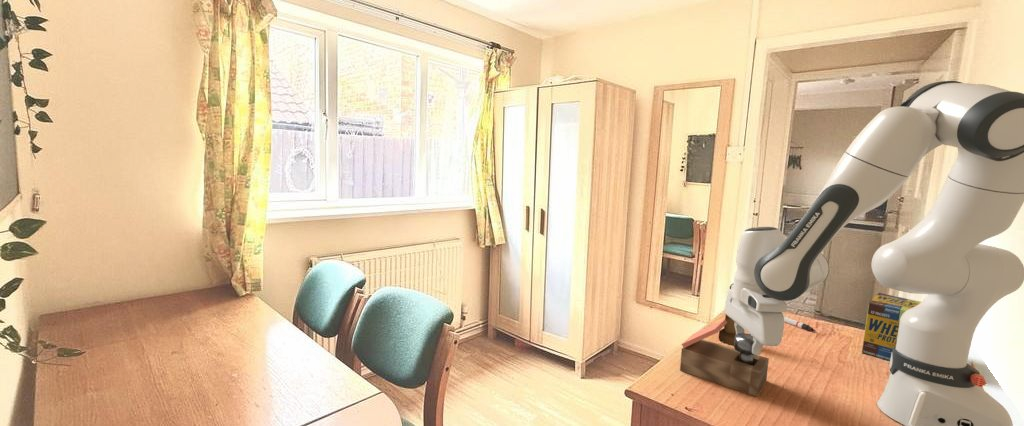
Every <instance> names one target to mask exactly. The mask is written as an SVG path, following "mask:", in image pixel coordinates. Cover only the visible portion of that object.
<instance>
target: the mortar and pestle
mask: <svg viewBox="0 0 1024 426" xmlns="http://www.w3.org/2000/svg"><path fill="white" fill-rule="evenodd" d="M731 285H733V283H732V284H730V286H729V290H730V289H731ZM724 318H725V319H724V320H726V321H727V324H726V325H725V326H724V327H723V328H722V329H721V330H720V331H719V332H718V340H719V341H720V342H722V343H724V344H727V345H732V346H734V341H735V335H736V330H735V325H734V323H735V321H734V320H732V319H731V318H730V317H729V316H727V315H726V314H725V317H724Z"/></svg>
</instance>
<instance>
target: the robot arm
mask: <svg viewBox="0 0 1024 426" xmlns="http://www.w3.org/2000/svg"><path fill="white" fill-rule="evenodd" d="M942 145H944V146H949V147H953V148H957V158H956V159H955V160H954V163H953V165H952V167H950V168H951V169H950V170H949V173H948V175H947V177H946V179H945V181H944V183H943V185H942V188H941V190H940V191H939V194H938V196H937V198H936V199H935V201H934V203H933V205H932V207H931V208H930V209H929V211H928V212H927V214H925V216H924V217H923V218H922V219H921V220H920V221H919V222H918V223H917V224H916V225H914V226H913V227H912V228H911V229H910V230H909V231H907V232H906V233H905V234H903V235H901V236H900V237H898V238H897V239H895V240H893V241H890V242H888V243H885V244H883V245H881V246H880V247H878V248H877V249H876V250H875V252H874V253H873V256H872V258H871V266H870V267H871V271H872V274H873V276H874V278H875V279H876V280H877V282H878V283H879V284H880V285H882V286H883V287H886V288H888V289H891V290H895V291H900V292H903V293H908V294H917V295H918V294H919V295H920V294H921V295H926V297H925V298H924V299H923V300H922V301H920V302H921V303H920V304H918V305H917V306H915V307H913V308H911V309H908V310H907V311H905V312H904V313H903V314H902V316H901V318H900V323H899V329H898V336H897V343H896V346H894V347H893V351H892V353H891V359H890V361H889V372H890V374H889V377H888V379H887V382H886V385H885V388H884V390H883V392H882V394H881V396H880V397H879V399H878V401H876V402H877V404H876V405H877V407H878V408H879V410H880V411H882V413H883V414H884V415H886V416H888V418H891V419H893V420H894V421H896V422H898V423H900V424H901V425H903V426H1014V425H1013V424H1014V423H1013V420H1012V417H1011V415H1010V414H1009V411H1008V410H1007V409H1006V408H1005V407H1004V406H1003V405H1002V404H1001V403H1000V402H999V401H998V400H997V399H995V398H994V397H993V396H992V395H990V394H989V393H988V392H986V391H985V390H984V389H983V388H982V387H985V386H986V384H987V382H986V379H985V376H983V375H981V373H980V371H979V370H977V369H976V367H975V365H973V364H969V363H968V359H969V354H970V349H971V345H972V341H973V338H974V335H975V334H974V333H975V332H976V329H977V327H978V325H979V323H980V321H982V319H983V318H984V316H985V315H986V314H987V312H988V311H989V310H990V309H991V308H992V307H993V306H994V305H995V304H996V303H997V302H998V301H1000V300H1002V299H1003V298H1004V297H1006V296H1008V295H1010V294H1012V293H1014V292H1016V291H1018V290H1019V289H1020V288H1021V287H1022V285H1023V283H1024V264H1023V262H1022V260H1021V259H1020V258H1019V257H1018V256H1017V255H1016V254H1015V253H1014V252H1012V251H1010V250H1007V249H1003V248H999V247H996V246H992V245H987V244H981V243H982V242H985V241H986V240H988V239H990V238H992V237H996V236H999V235H1000V234H1002V233H1004V232H1005V231H1007V230H1008V229H1009V228H1010V227H1011V226H1012V224H1013V222H1014V221H1015V219H1016V217H1017V215H1018V213H1019V212H1020V210H1021V208H1022V206H1023V205H1024V93H1023V92H1018V91H1011V90H1009V89H1005V88H1001V87H997V86H996V85H995V86H994V85H989V84H985V83H981V84H980V83H967V82H966V83H965V82H961V81H958V80H942V81H941V80H940V81H936V82H931V83H929V84H927V85H924V86H922V87H920V88H919V89H917V90H916V91H914V92H913V93H912V94H911V95H910V96H909V97H908V98H907V99H906V100H905V101H903V102H901V103H900V105H899V106H892V107H888V108H885V109H882V110H881V111H880V112H879V113H877V114H876V115H875V116H874V117H873V118H872V119H871V120H870V121H868V123H867V125H865V126H864V127H863V128H862V130H861V131H860V132H859V133H858V134H857V135H856V137H855V138H854V140H853V141H852V142H851V143H850V144H849V146H848V147H847V148H846V149H845V152H844V153H843V154H842V156H841V158H840V159H839V160H838V162H837V164H836V165H835V167H834V168H833V170H832V172H831V174H830V175H829V177H828V178H827V180H826V182H825V184H824V186H823V187H822V188H821V191H819V194H818V195H817V197H816V198H815V200H814V202H813V203H812V205H810V207H809V209H807V211H806V212H805V214H804V215H803V216H802V217H801V219H800V220H799V221H798V223H797V224H796V225H795V227H794V228H793V229H792V230H791V232H790V233H789V234H788V236H787V235H786V234H784V233H783V232H782V231H781V230H780V229H779V228H777V227H773V226H758V227H757V226H756V227H749V228H747V229H745V230H744V231H742V233H741V235H740V237H739V242H738V246H737V251H736V259H735V260H736V261H735V262H736V272H735V274H734V277H733V278H734V279H733V283H732V284H733V285H731V284H730V286H731V289H730V288H729V289H728V291H727V295H726V297H725V304H724V312H725V316H726V315H727V316H729V317H730V318H731V319H732V320H734V321H735V323H734V325H735V330H736V334H738V333H745V331H746V333H747V334H750V335H752V336H753V341H754V343H753V345H750V352H751V353H753V354H754V355H759V356H761V352H762V348H763V347H764V346H766V347H778V346H779V345H780V344H781V343H782V340H783V335H784V329H785V322H784V314H783V313H787V311H788V310H787V309H788V304H787V301H792V300H795V299H797V298H799V297H800V296H802V295H803V294H804V293H807V292H809V291H811V290H813V289H814V288H816V287H818V286H819V285H821V284H823V283H824V282H825V281H826V279H827V278H828V277H829V274H830V266H829V262H828V259H827V258H826V257H825V256H824V254H823V253H822V252H824V250H825V249H826V248H827V247H828V245H829V244H830V242H831V241H832V240H833V239H834V237H836V235H837V234H838V233H839V232H840V231H841V230H842V229H843V228H844V227H845V226H846V225H848V224H849V223H850V222H852V221H854V220H855V219H857V218H858V217H861V216H863V215H864V214H866V213H868V212H871V211H872V210H874V209H876V208H878V207H880V206H881V205H883V204H884V203H886V201H887V200H889V199H890V198H891V197H893V195H894V194H895V193H896V192H897V191H898V190H899V189H900V188H901V187H902V186H903V185H904V184H905V183H906V181H907V180H908V179H909V178H910V177H911V175H912V173H914V171H915V170H916V169H917V167H918V166H919V164H920V163H921V161H922V159H923V158H924V157H925V156H926V155H928V154H929V153H930V152H931V151H933V150H934V149H936V148H938V147H940V146H942Z"/></svg>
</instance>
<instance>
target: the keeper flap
mask: <svg viewBox="0 0 1024 426" xmlns="http://www.w3.org/2000/svg"><path fill="white" fill-rule="evenodd" d="M726 324H727V321H726V320H725V319H723V320H720V321H718V322H716V323H714V324H712V325H710V326H707V327H705V328H703V329H702V330H699V331H697V332H695V333H693V334H691V335H690V336H689V337H688V338H686V340H684V342H682V343H681V346H682V348H683V347H687V346H689V345H691V344H693V343H695V342H698V341H700V340H702V339H703V340H705V339H706V338H708V337H711V336H714V335H715V334H717V333H718V334H719V331H720V330H722V329H724V326H725V325H726Z"/></svg>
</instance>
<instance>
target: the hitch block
mask: <svg viewBox="0 0 1024 426" xmlns="http://www.w3.org/2000/svg"><path fill="white" fill-rule="evenodd" d="M680 354H681V355H680V364H679V366H680V367H679V371H680V372H684V373H686V374H688V375H689V374H690V375H692V376H696V377H698V378H700V379H704V380H706V381H710V382H712V383H715V384H718V385H722V386H724V387H728V388H730V389H733V390H736V391H738V392H743V393H745V394H748V395H751V396H754V397H758V396H759V395H760V392H761V391H762V390H763V388H764V386H765V385H766V382H767V377H768V368H769V360H770V358H768V357H765V356H762V355H753V366H752V365H749V364H746V363H742V362H739V354H740V352H738V351H737V350H735V348H734V347H730V346H728V345H727V346H726V345H724V344H720V343H716V342H713V341H708V340H705V339H702V340H700V341H698V342H695V343H693V344H691V345H689V346H687V347H683V346H682V348H681V353H680Z"/></svg>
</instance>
